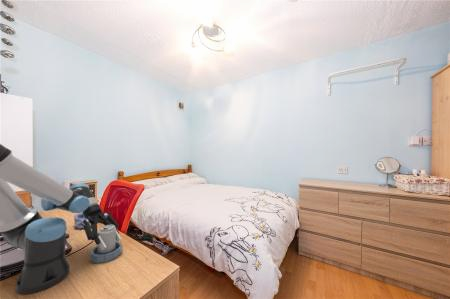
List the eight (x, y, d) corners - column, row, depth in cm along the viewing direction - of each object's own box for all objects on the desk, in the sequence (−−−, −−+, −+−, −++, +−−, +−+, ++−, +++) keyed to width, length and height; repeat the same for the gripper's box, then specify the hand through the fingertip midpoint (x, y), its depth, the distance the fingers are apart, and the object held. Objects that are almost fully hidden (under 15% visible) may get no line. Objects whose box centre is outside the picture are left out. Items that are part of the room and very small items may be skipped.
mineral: (71, 213, 118) (89, 209, 126) (71, 226, 119) (89, 221, 127) (78, 221, 110) (96, 216, 118) (78, 235, 111) (96, 229, 119)
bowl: (115, 261, 83) (116, 254, 83) (84, 264, 80) (84, 257, 80) (125, 246, 96) (125, 240, 96) (98, 249, 93) (98, 242, 93)
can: (94, 251, 86) (95, 227, 87) (110, 245, 93) (111, 222, 93) (102, 256, 83) (103, 231, 83) (118, 249, 90) (119, 225, 90)
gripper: (104, 206, 103) (124, 239, 98) (64, 219, 83) (86, 260, 78) (112, 199, 101) (132, 231, 96) (72, 209, 82) (95, 251, 77)
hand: (112, 244), depth 87 cm, fingers open, 7 cm apart
